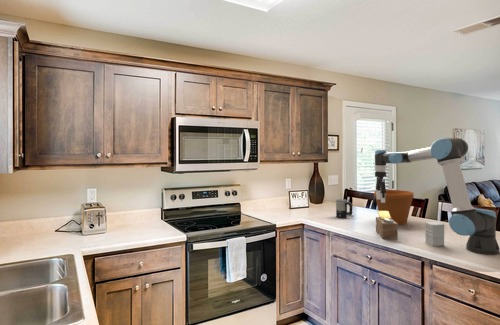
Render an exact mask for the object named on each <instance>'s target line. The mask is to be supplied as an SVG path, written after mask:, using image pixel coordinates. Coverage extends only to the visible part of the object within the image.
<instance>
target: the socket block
mask: <svg viewBox="0 0 500 325" xmlns="http://www.w3.org/2000/svg"><path fill="white" fill-rule="evenodd" d="M391 220H392V219H391ZM398 226H399V225H398V224H397V223H396V222H395V221H394V220H393V223H385V221H384V219H380V217H379V216H375V232H376V233H377V234H378V235H379V236H380V237H381V239H383V240H398V239H399V237H398V235H399V234H398V231H399V230H398Z"/></svg>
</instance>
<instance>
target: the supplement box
mask: <svg viewBox="0 0 500 325" xmlns="http://www.w3.org/2000/svg"><path fill="white" fill-rule="evenodd" d="M424 225H425V226H424V227H425V229H424V230H425V236H424V237H425V244H427V245H430V246H432V247H437V246H441V245H442V246H445V224H444V223H441V222H439V221H430V222H429V221H427V222H426V221H425V224H424Z"/></svg>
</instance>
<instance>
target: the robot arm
mask: <svg viewBox="0 0 500 325" xmlns="http://www.w3.org/2000/svg"><path fill="white" fill-rule="evenodd" d="M468 151H469V144H468V143H467V141H466V140H464V139H463V138H459V137H454V138H452V137H451V138H450V137H444V138H438V139H436V140H434V141H433V142H432V144H431V146H430V147H424V148H420V149H414V150H409V151H395V152H394V151H393V152H392V151H391V152H387V149H375V151H374V177H375V178H376V181H375V183H376V184H375V191H376V199H379V200H381V203H385V193H386V190H387V189H386V188H387V187H386V179H385V178H386V177H387V168H388V167H387V164H397V165H398V164H401V163H402V164H408V163H409V164H410V163H413V162H419V161H420V162H421V161H425V160H426V161H427V160H434V159H436V160H437V164H438V165H439V166H441V168H442V171H443V172H442V173H443V175H444V180H445V183H446V184H445V185H446V186H447V190H448V194H449V199H450V202H451V206H452V209H451V210H450V214H451V216H450V217H449V219H448V225H449V227H450V229H451V230H452V231H453V232H454V233H455V234H457V235H459V236H463V237H464V236H467V237H468V239H467V241H466V244H465V246H466V247H465V248H466V249H465V250H468V251H469V252H473V253H477V254H482V255H497V254H500V246H499V243H498V240H497V236H496V235H497V234H496V233H497V214H496V213H497V212H495V211H494V210H490V209H483V208H476V207H474V206H473V205H472V204H471V203H472V202H471V199H470V197H469V196H470V195H469V193H468V192H469V191H468V189H467V186H466V181H465V178H464V174H463V171H462V166H461V164H460V163H461V161H462V160H463V159H462V157H464V156H466V155H467V154H468ZM379 190H381V191H379ZM376 199H375V200H376Z"/></svg>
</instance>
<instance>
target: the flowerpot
mask: <svg viewBox="0 0 500 325" xmlns="http://www.w3.org/2000/svg"><path fill="white" fill-rule="evenodd" d="M376 191H377V190H374V192H373V194H374V195H373V196H374V198H375V202H376V206H377V212H378V211H389V214H390V217H391V219H392V220H394V221H395V222H396V223H397V224H398V226H401V225H403V226H404V225H406V224H407V222H408V219H409V214H410V210H411V207H412V202H413V200H414V198H415V197H414V192H413V191H409V190H400V189H386V193H385V203H381V200H379V199H376ZM379 191H381V190H379Z"/></svg>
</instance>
